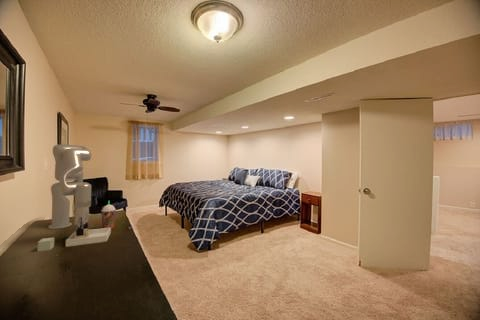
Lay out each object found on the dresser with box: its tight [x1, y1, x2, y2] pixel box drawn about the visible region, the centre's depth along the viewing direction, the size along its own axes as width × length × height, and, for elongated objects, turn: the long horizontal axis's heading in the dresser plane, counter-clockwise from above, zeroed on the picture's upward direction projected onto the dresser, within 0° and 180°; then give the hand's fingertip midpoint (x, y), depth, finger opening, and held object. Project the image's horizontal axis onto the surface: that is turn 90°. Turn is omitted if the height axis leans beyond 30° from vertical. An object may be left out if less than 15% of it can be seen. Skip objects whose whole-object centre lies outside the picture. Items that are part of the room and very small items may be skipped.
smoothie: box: [101, 200, 117, 231], centre depth 139 cm, size 8×8×20 cm
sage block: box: [37, 237, 55, 252], centre depth 107 cm, size 5×5×5 cm
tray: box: [65, 227, 112, 248], centre depth 121 cm, size 16×19×4 cm
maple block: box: [76, 228, 90, 239], centre depth 120 cm, size 5×5×5 cm
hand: (82, 232), depth 120 cm, fingers open, 9 cm apart
